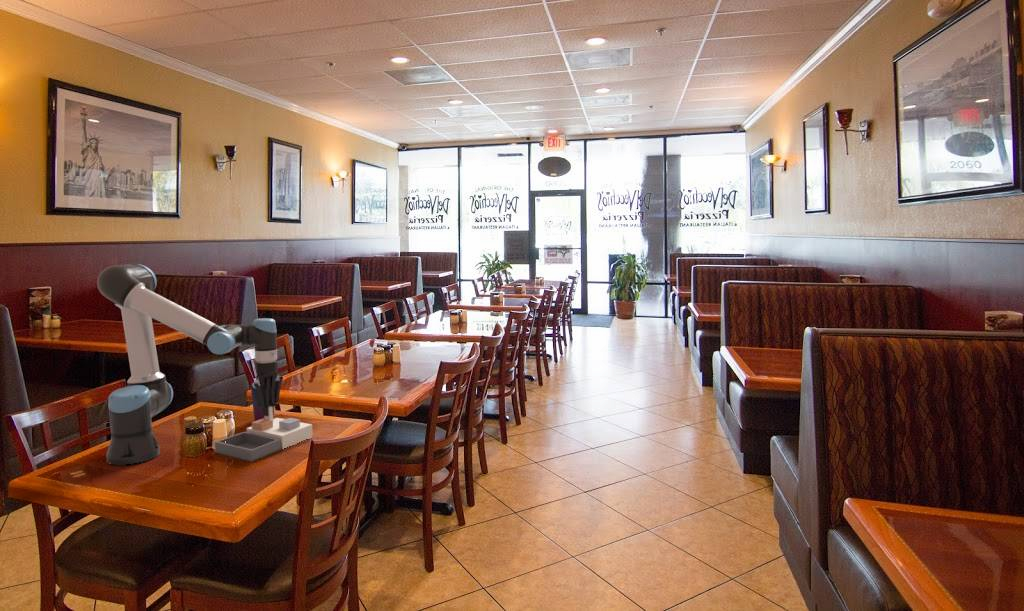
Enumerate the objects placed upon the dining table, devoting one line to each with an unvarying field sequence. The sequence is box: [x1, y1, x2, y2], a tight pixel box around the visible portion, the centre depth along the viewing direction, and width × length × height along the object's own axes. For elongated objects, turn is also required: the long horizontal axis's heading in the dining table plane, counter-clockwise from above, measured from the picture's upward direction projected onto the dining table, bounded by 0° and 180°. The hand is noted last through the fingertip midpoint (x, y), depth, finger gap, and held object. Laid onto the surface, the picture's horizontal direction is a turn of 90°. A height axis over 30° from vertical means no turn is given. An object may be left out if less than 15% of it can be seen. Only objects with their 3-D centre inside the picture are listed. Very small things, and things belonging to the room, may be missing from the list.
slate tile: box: [279, 417, 301, 430], centre depth 214 cm, size 5×5×2 cm
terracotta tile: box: [251, 419, 273, 431], centre depth 213 cm, size 5×5×2 cm
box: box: [214, 431, 282, 463], centre depth 203 cm, size 18×12×4 cm, turn 64°
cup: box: [250, 385, 265, 421], centre depth 238 cm, size 7×7×15 cm
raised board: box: [246, 417, 314, 450], centre depth 216 cm, size 18×14×5 cm
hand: (269, 423), depth 216 cm, fingers closed
